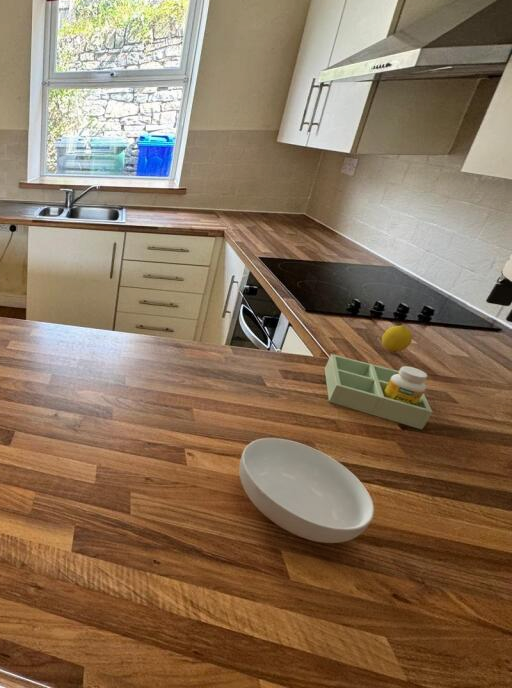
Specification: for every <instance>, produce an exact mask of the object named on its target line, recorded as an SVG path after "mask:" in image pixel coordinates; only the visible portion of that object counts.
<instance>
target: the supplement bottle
mask: <svg viewBox="0 0 512 688" xmlns="http://www.w3.org/2000/svg"><path fill="white" fill-rule="evenodd" d="M398 371H399V374H395V375H393V376H392V377H391V379H390V381H389V383H388V385H387V387H386V389H385V390H384V392H383V395H384V397H387V398H390V399H394V400H397V401H401V402H405V403H408V404H412V405H415V406H416V405H417V403H418V402H419V400H420V398H421V396H422V395H423V393H424V394H425V391H426V388H427V387H426V384H425V383H424V382H426V380H427V378H428V374H427V373H426V372H425V371H423V370H421V369H419V368H416V367H413V366H408V365H407V366H405V365H404V366H401V367H400V369H399V370H398Z"/></svg>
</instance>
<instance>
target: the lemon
mask: <svg viewBox="0 0 512 688" xmlns="http://www.w3.org/2000/svg"><path fill="white" fill-rule="evenodd" d="M412 333H413V332H411V330H410V329H409V328H407V327H406V326H405V325H394V326H390V327H389V328H387V330H386V331H385V332H383V334H382V337H381V343H382V345H383V347H384V348H385V349H387V350H388V352H389V353H393V352H402V351H404V350H406V349H407V348H408V347H410V345H411V343H412V340H413V334H412Z"/></svg>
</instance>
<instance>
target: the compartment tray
mask: <svg viewBox="0 0 512 688" xmlns="http://www.w3.org/2000/svg"><path fill="white" fill-rule="evenodd" d="M399 371H400V370H397V369H393V368H388V367H385V366H381V365H376V364H373V363H369V362H365V361H360V360H356V359H353V358H349V357H346V356H345V357H344V356H341V355H336V354H333V353H330V356H329V358H328V360H327V363H326V365H325V367H324V375H325V383H326V389H327V390H326V391H327V397H328V402H329V403H332V404H335V405H339V406H341V407H345V408H348V409H351V410H355V411H358V412H362V413H365V414H369V415H372V416H375V417H379V418H382V419H384V420H388V421H392V422H395V423H398V424H401V425H406V426H408V427H412V428H415V429H418V430H423V429H424V427H425V425H426V424H427V422H428V421H429V419H430V418H431V416H432V415H433V413H434V412H433V410H432V408H431V405H430V403H429V402H428V399H427V397H426V395H425V392H424V393H423V395H422V396H421V398H420V400H419V402H418V403H417V405H416V406H415V405H412V404H408V403H405V402H401V401H397V400H394V399H390V398H387V397H384V395H383V392H384V390H385V389H386V387H387V385H388V383H389V381H390V379H391V377H392V376H393V375H395V374H399Z"/></svg>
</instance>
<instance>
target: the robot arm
mask: <svg viewBox="0 0 512 688" xmlns="http://www.w3.org/2000/svg"><path fill="white" fill-rule="evenodd" d="M500 273H501V275H500V276H499V277H498V278H497V280H496V283H495V284H494V286H493V288H492V289H491V291H490V292H489V294H488V296H487V298H485V301H486V303H488V304H492V305H498V306H503V307H510V306H511V305H512V253H511V254H510V256H509V257H508V258H507V261H506V262H505V265H504V267H503V269H502V270H501V272H500ZM505 321H507V323H512V308H511V309H510V311H509V312H508V314H507V315H506V317H505Z"/></svg>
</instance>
